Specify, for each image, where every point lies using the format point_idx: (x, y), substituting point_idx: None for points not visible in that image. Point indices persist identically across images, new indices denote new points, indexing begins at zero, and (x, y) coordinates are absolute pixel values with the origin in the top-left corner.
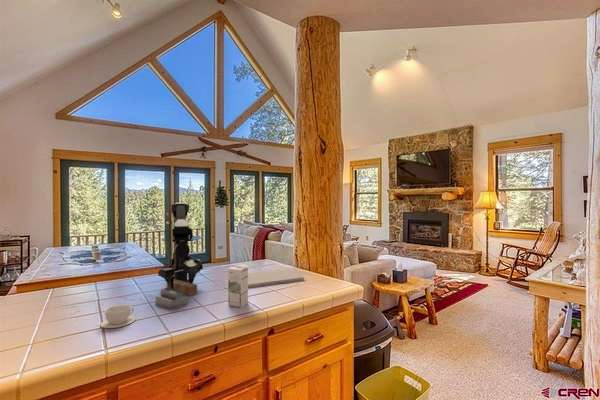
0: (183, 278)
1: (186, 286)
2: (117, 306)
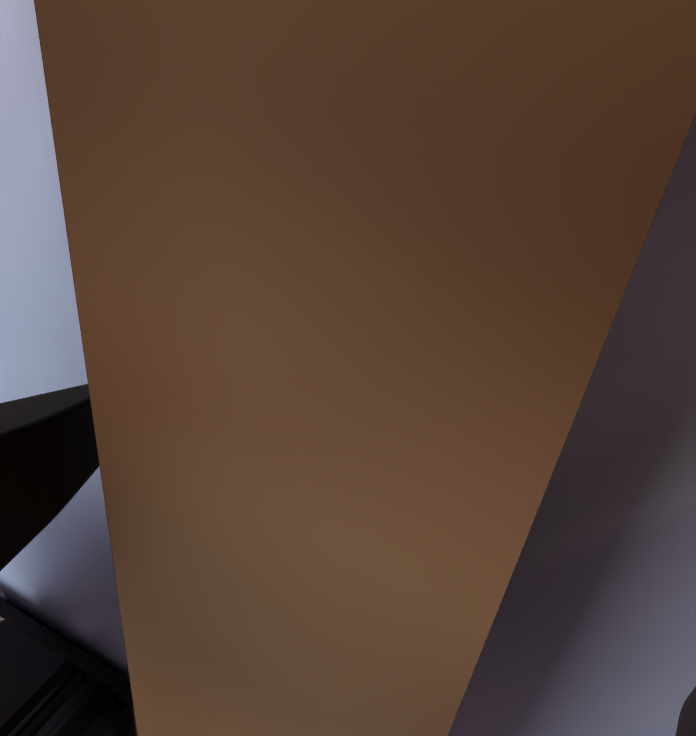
0: (13, 700)
1: (688, 116)
2: None
